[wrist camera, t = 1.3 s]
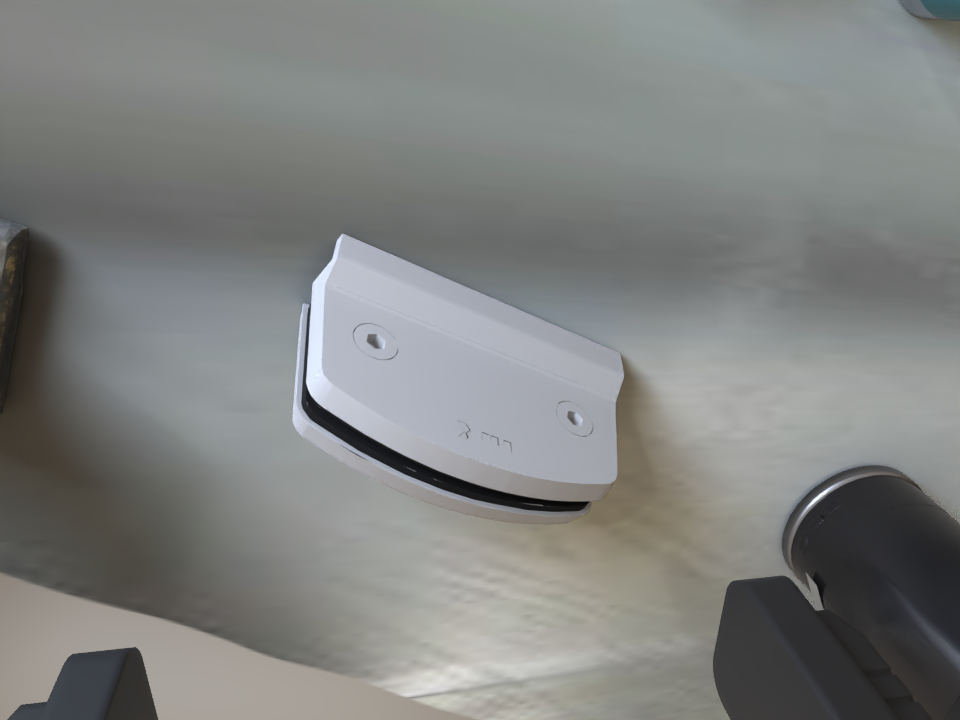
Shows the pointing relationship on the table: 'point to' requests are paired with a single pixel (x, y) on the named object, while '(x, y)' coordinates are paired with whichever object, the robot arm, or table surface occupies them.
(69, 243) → the table surface
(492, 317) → the white rounded block
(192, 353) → the table surface
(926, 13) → the silver teal canister
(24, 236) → the embossing press
